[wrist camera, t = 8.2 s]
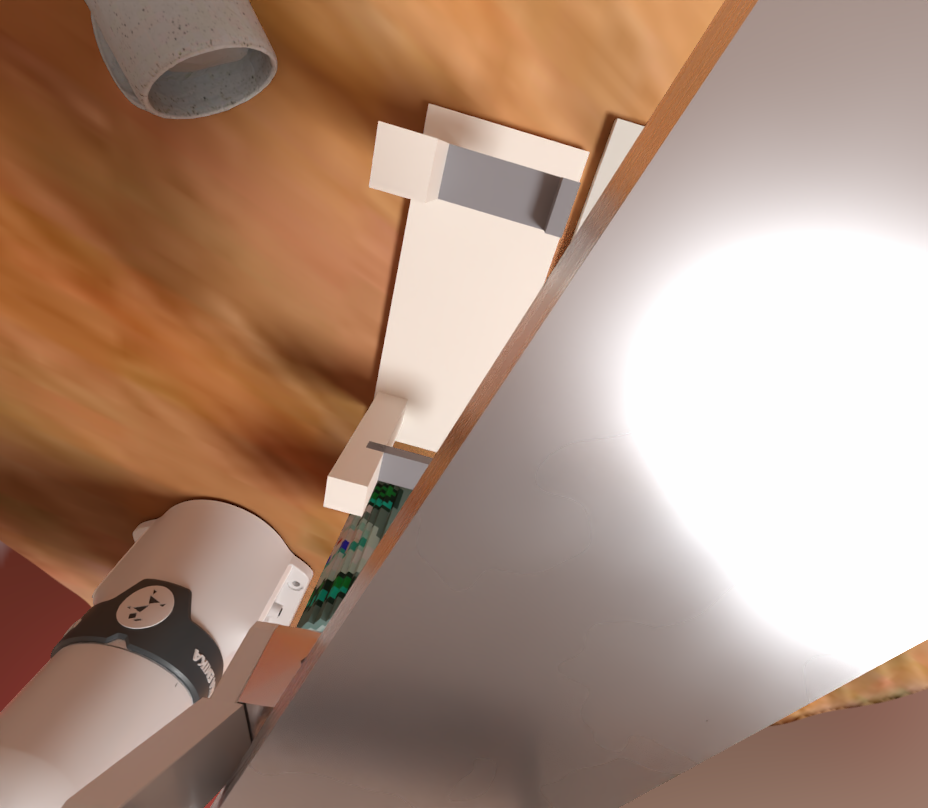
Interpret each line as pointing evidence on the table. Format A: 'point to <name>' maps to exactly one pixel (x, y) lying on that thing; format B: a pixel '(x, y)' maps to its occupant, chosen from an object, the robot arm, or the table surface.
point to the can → (352, 553)
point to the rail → (662, 458)
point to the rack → (453, 280)
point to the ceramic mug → (183, 53)
